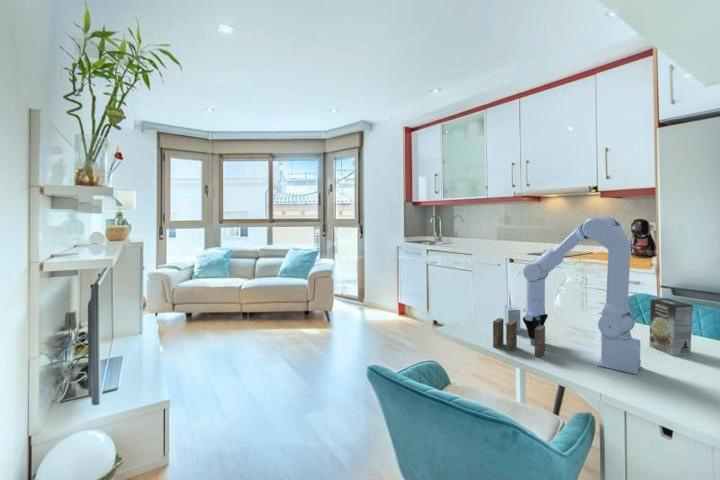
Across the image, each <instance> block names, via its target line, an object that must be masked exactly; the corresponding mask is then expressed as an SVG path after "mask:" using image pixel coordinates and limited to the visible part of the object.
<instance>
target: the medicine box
mask: <svg viewBox="0 0 720 480" xmlns="http://www.w3.org/2000/svg"><path fill="white" fill-rule="evenodd" d="M511 320H514V321H517V333H521V330H522V329H521V309H520V308H519V307H518V306H517V305H516V304H506V305H504V326H505V327H506V324H507V323H508V322H510V321H511Z"/></svg>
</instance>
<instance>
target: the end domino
mask: <svg viewBox="0 0 720 480" xmlns="http://www.w3.org/2000/svg"><path fill="white" fill-rule="evenodd" d="M504 326H505V318H500V317H498V318H496V319H495V320H493V322H492V347H493V348H496V349H499V348H500V347H501V346H503V345H504V339H505V338H504V335H505V334H504Z"/></svg>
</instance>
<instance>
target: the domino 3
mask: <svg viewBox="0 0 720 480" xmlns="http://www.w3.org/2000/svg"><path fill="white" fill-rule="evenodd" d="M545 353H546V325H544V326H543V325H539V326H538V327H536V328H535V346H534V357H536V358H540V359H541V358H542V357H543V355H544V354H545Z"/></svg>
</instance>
